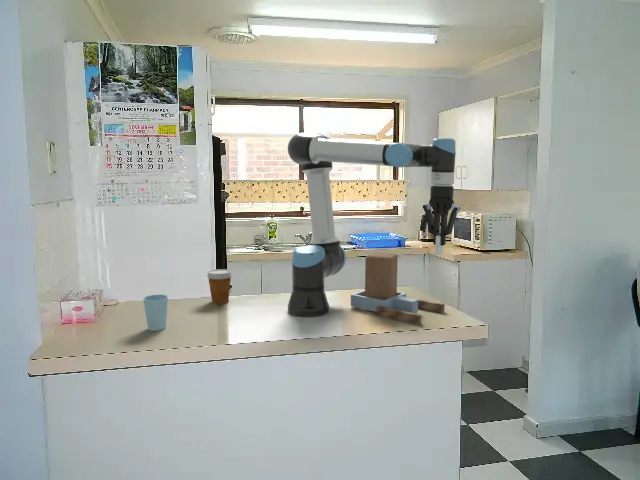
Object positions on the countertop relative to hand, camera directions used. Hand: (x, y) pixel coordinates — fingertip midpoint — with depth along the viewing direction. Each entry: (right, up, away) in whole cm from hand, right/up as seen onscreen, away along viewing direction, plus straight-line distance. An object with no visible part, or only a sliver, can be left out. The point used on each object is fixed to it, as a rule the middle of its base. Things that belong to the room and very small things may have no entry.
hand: (438, 254), depth 177 cm
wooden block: (-18, -20, +18) cm, 33 cm away
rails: (-8, -22, +10) cm, 25 cm away
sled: (-16, -20, +16) cm, 30 cm away
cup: (-94, -24, -8) cm, 97 cm away
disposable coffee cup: (-80, -19, +25) cm, 86 cm away
